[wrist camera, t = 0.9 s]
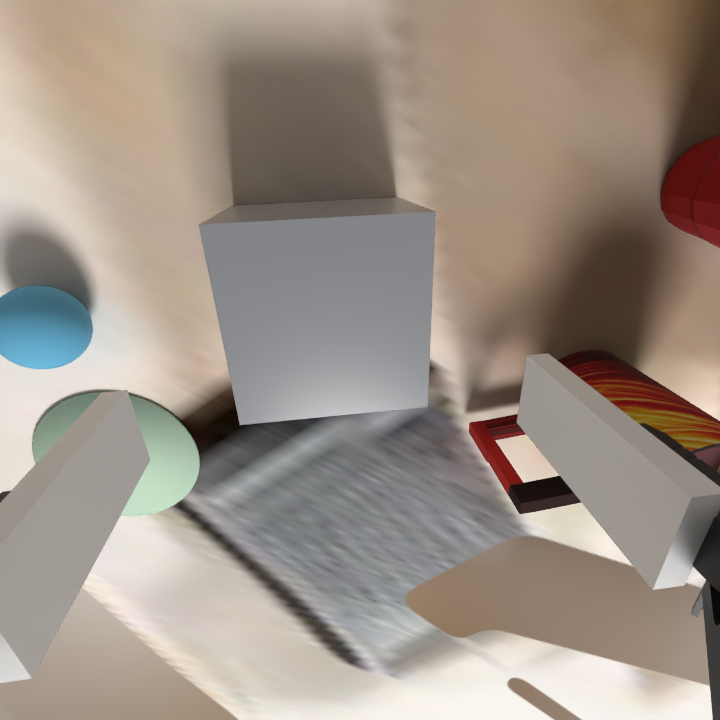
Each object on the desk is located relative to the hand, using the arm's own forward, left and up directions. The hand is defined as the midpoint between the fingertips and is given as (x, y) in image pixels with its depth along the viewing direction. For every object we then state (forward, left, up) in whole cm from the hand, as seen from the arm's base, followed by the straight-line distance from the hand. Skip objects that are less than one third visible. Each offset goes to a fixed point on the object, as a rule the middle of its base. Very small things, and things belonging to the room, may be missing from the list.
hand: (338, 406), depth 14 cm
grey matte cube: (0, 0, -16) cm, 16 cm away
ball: (+1, -17, -13) cm, 22 cm away
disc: (+13, -17, -16) cm, 26 cm away
